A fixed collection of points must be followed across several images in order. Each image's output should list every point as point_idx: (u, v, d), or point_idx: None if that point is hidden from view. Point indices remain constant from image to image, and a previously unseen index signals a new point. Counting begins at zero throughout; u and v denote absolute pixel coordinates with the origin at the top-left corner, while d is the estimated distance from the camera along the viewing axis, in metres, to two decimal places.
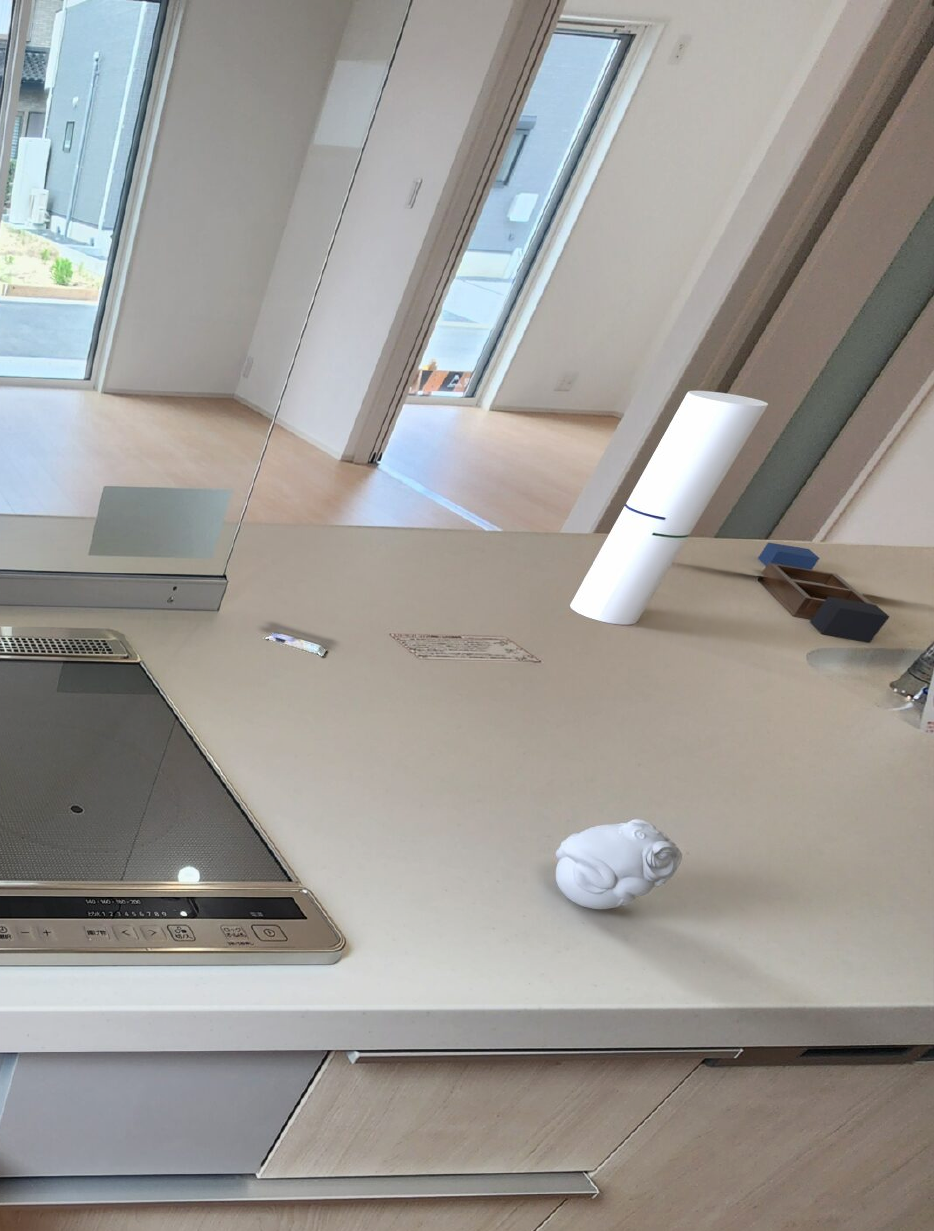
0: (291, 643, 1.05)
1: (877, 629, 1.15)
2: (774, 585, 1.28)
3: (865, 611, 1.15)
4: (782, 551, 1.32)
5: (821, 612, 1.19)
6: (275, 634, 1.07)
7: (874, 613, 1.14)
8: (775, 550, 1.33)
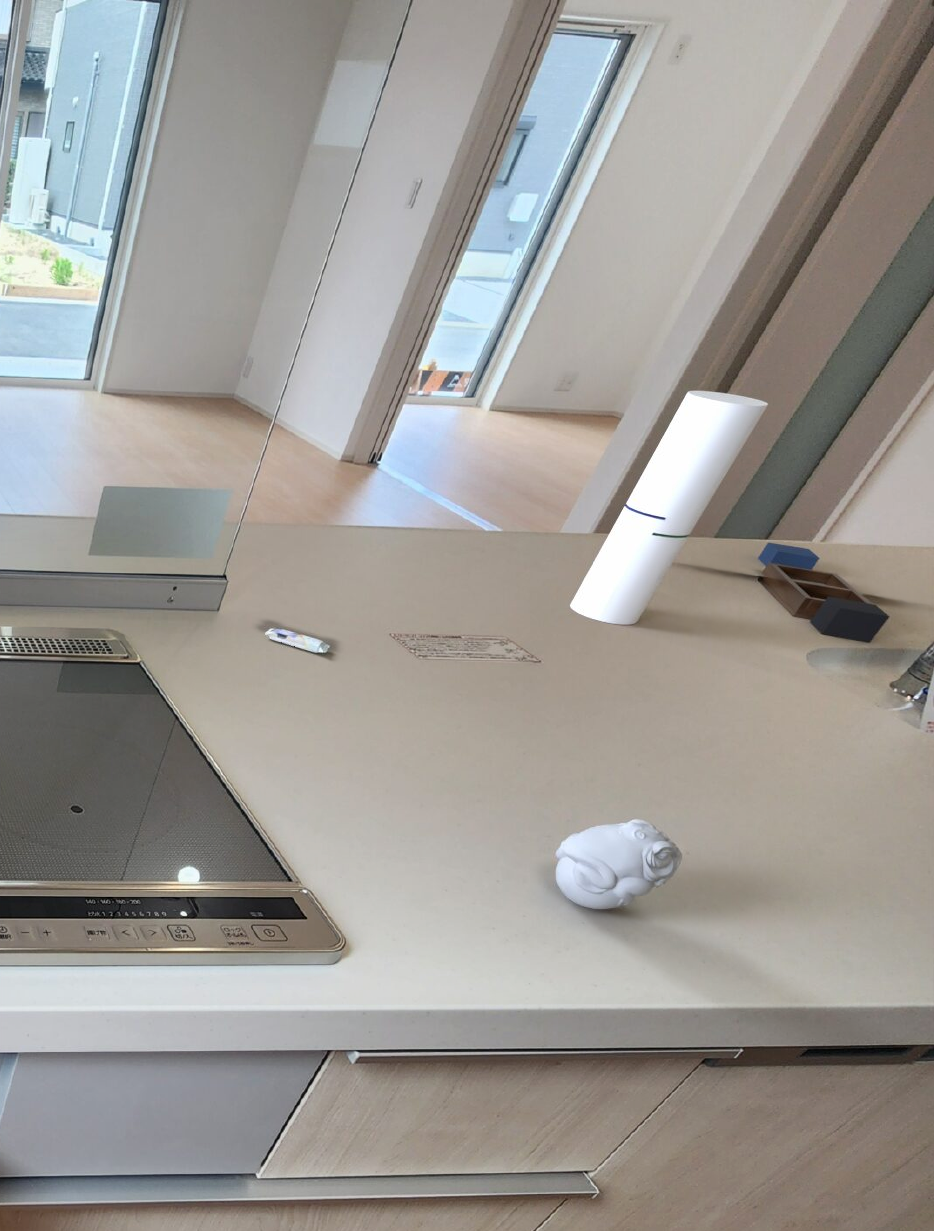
0: (293, 639, 1.05)
1: (877, 629, 1.15)
2: (774, 585, 1.28)
3: (865, 611, 1.15)
4: (782, 551, 1.32)
5: (821, 612, 1.19)
6: (277, 629, 1.06)
7: (874, 613, 1.14)
8: (775, 550, 1.33)
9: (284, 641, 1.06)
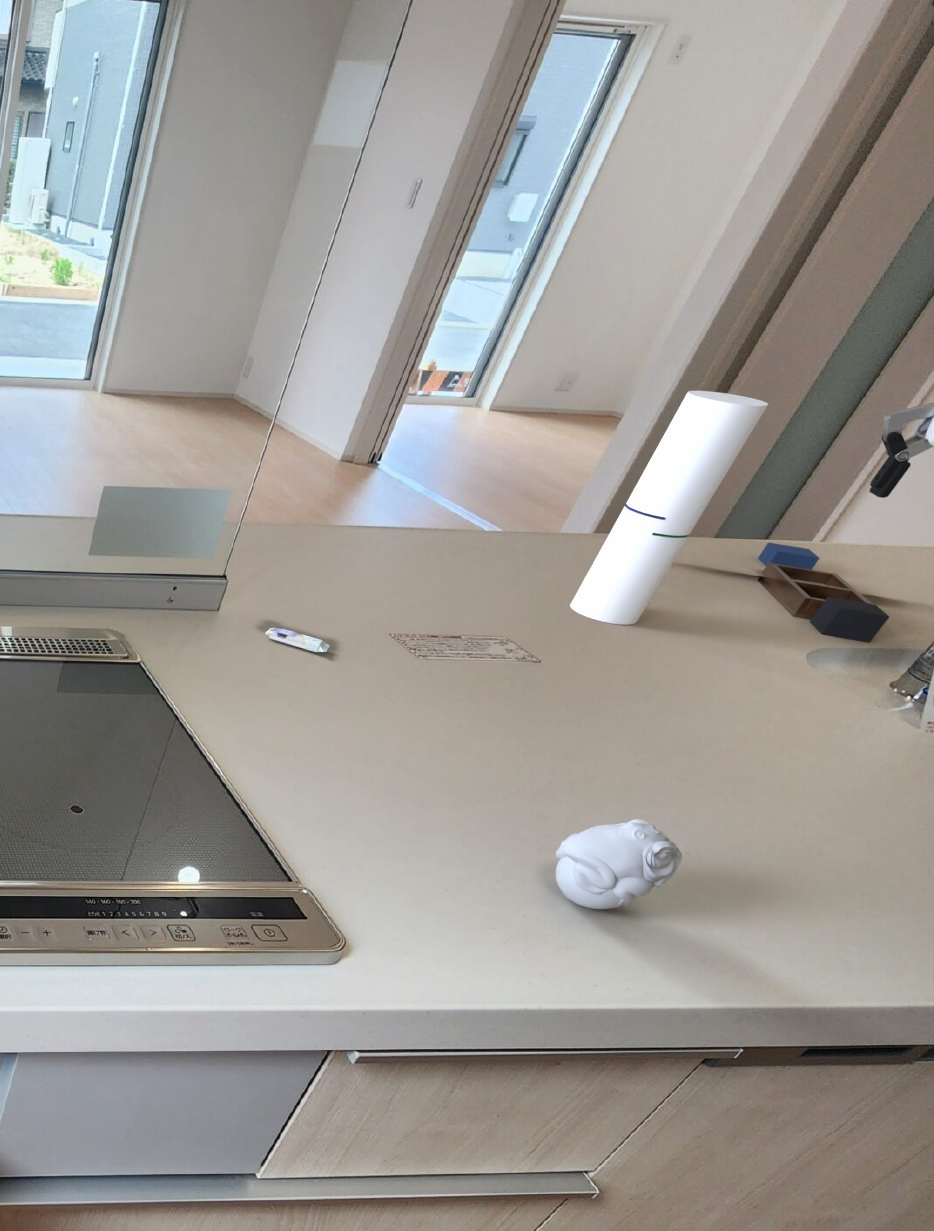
0: (293, 638, 1.05)
1: (877, 629, 1.15)
2: (774, 585, 1.28)
3: (865, 611, 1.15)
4: (782, 551, 1.32)
5: (821, 612, 1.19)
6: (277, 629, 1.06)
7: (874, 613, 1.14)
8: (775, 550, 1.33)
9: (284, 641, 1.06)
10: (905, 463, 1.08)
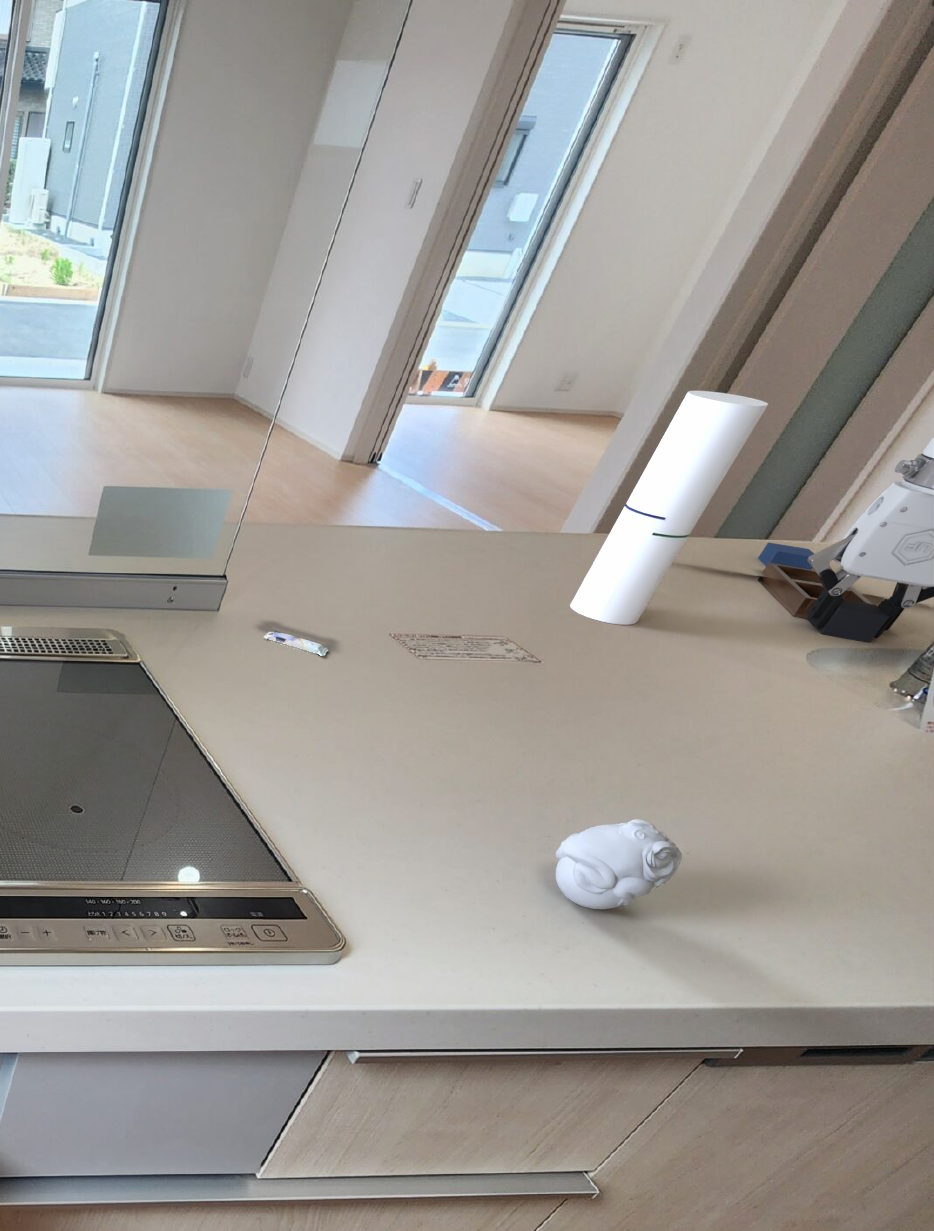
0: (292, 642, 1.05)
1: (877, 629, 1.15)
2: (774, 585, 1.28)
3: (865, 611, 1.15)
4: (782, 551, 1.32)
5: None
6: (275, 633, 1.07)
7: (874, 613, 1.14)
8: (775, 550, 1.33)
9: None
10: (838, 598, 1.15)
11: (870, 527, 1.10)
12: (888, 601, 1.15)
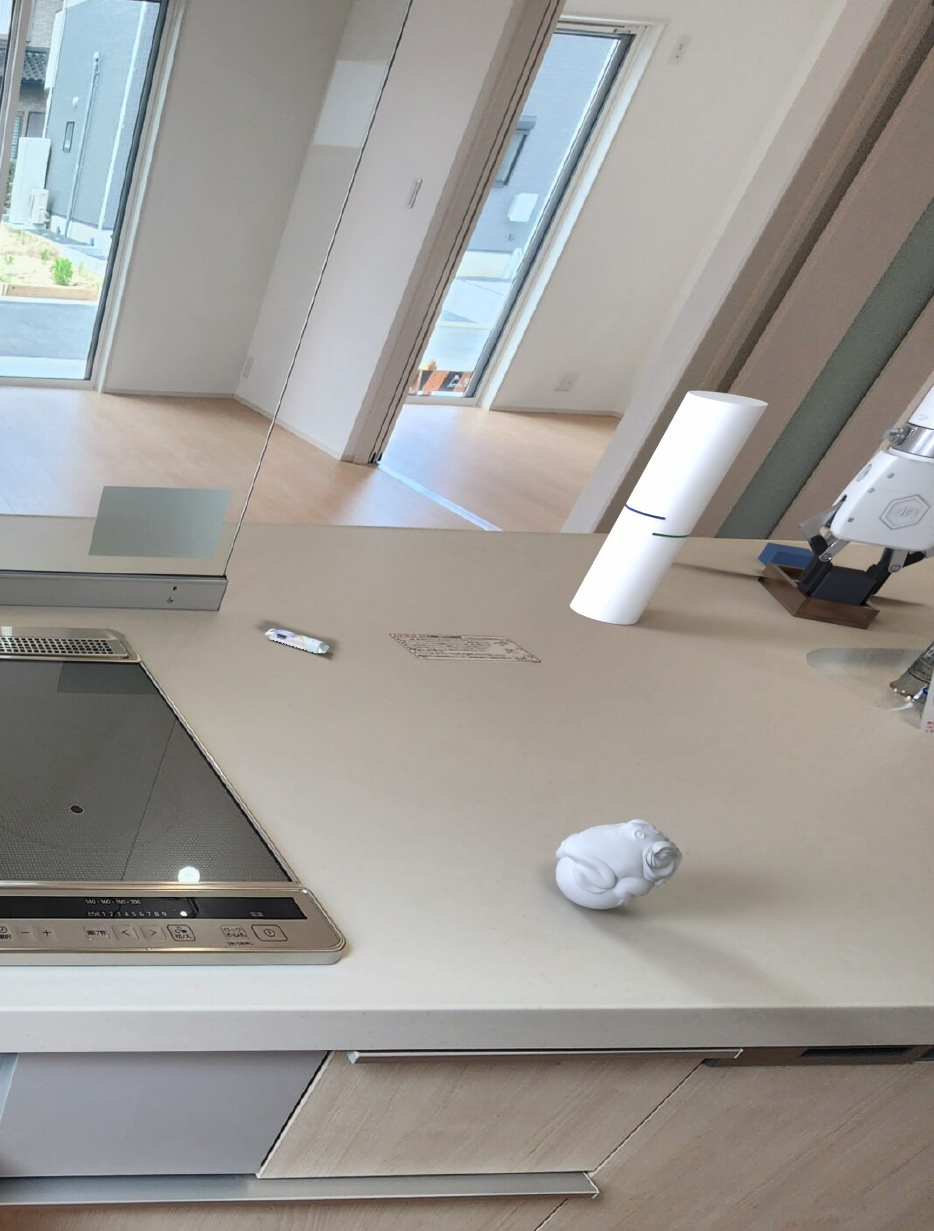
0: (293, 639, 1.05)
1: (865, 593, 1.19)
2: (774, 585, 1.28)
3: (854, 576, 1.19)
4: (782, 551, 1.32)
5: None
6: (276, 630, 1.06)
7: (862, 578, 1.18)
8: (775, 550, 1.33)
9: (284, 642, 1.06)
10: (827, 564, 1.19)
11: (858, 493, 1.14)
12: (876, 566, 1.19)
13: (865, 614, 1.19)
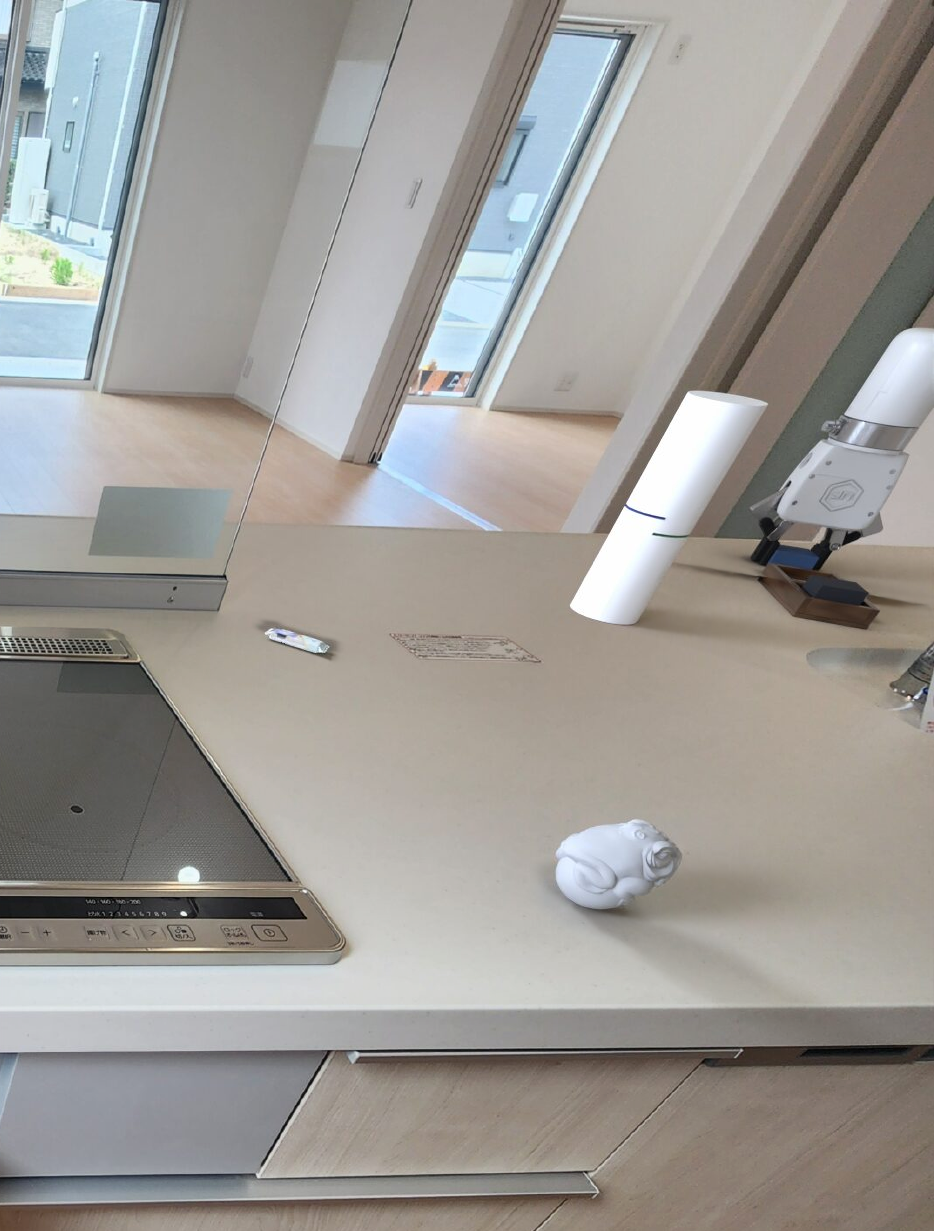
0: (293, 638, 1.05)
1: None
2: (774, 585, 1.28)
3: (846, 588, 1.20)
4: (782, 551, 1.32)
5: (804, 590, 1.23)
6: (277, 629, 1.06)
7: (854, 590, 1.19)
8: None
9: (284, 641, 1.06)
10: (775, 543, 1.32)
11: (801, 479, 1.28)
12: (819, 545, 1.32)
13: (865, 614, 1.19)
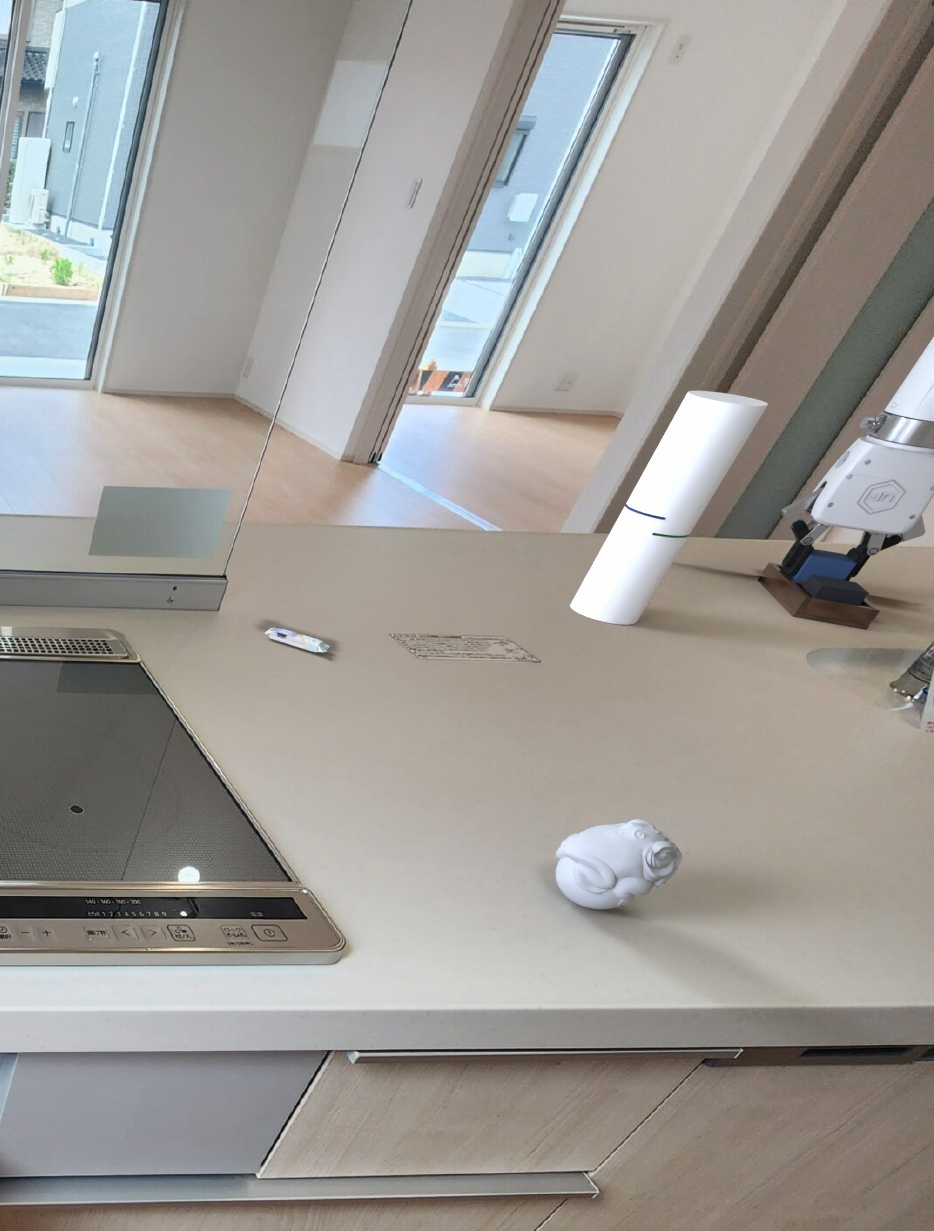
0: (293, 638, 1.05)
1: None
2: (774, 585, 1.28)
3: (846, 588, 1.20)
4: (816, 556, 1.24)
5: (804, 590, 1.23)
6: (277, 629, 1.06)
7: (854, 590, 1.19)
8: None
9: (284, 640, 1.06)
10: (809, 547, 1.24)
11: (837, 479, 1.20)
12: (855, 549, 1.24)
13: (865, 614, 1.19)
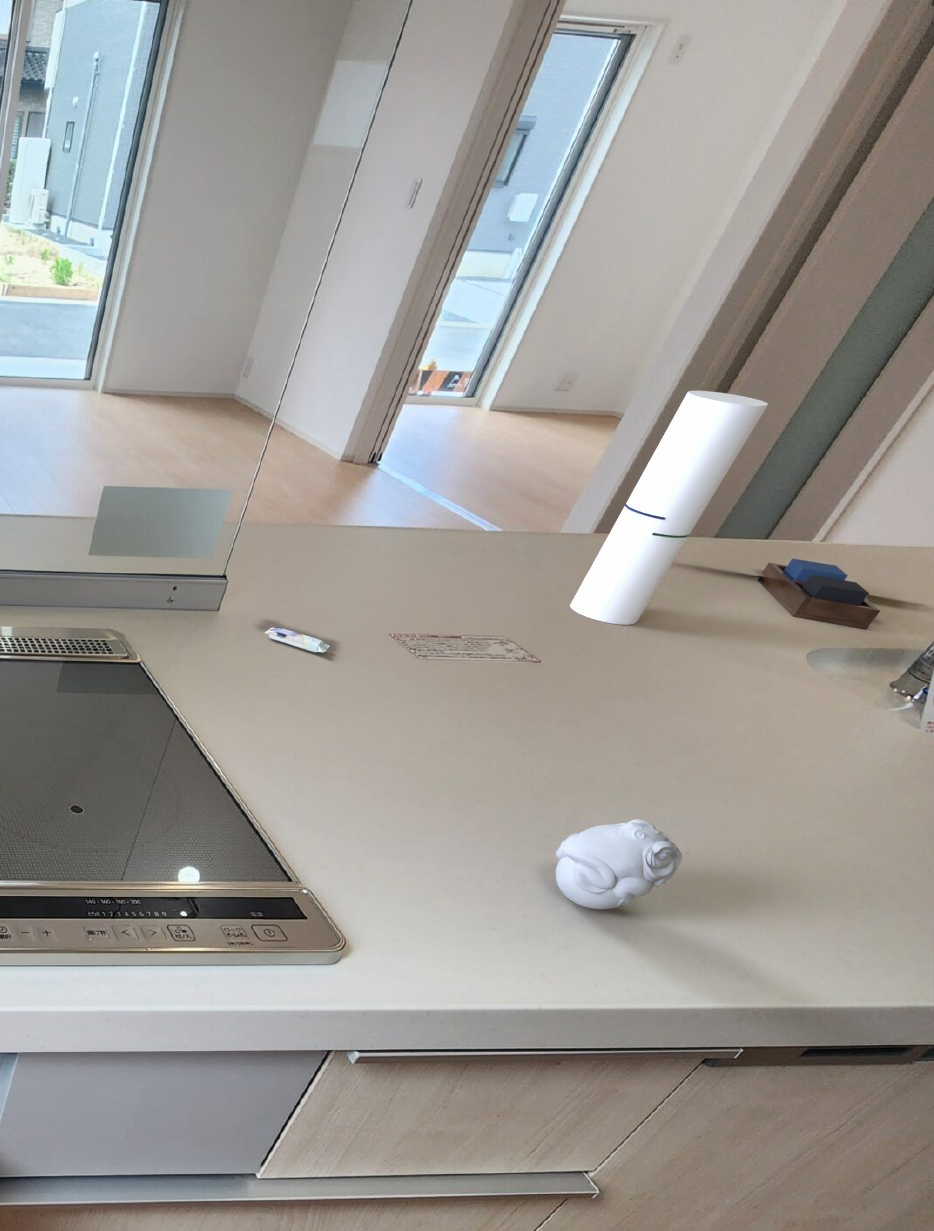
0: (293, 638, 1.05)
1: None
2: (774, 585, 1.28)
3: (846, 588, 1.20)
4: (808, 568, 1.25)
5: (804, 590, 1.23)
6: (277, 629, 1.06)
7: (854, 590, 1.19)
8: (800, 567, 1.26)
9: (284, 640, 1.06)
10: None
11: None
12: None
13: (865, 614, 1.19)
